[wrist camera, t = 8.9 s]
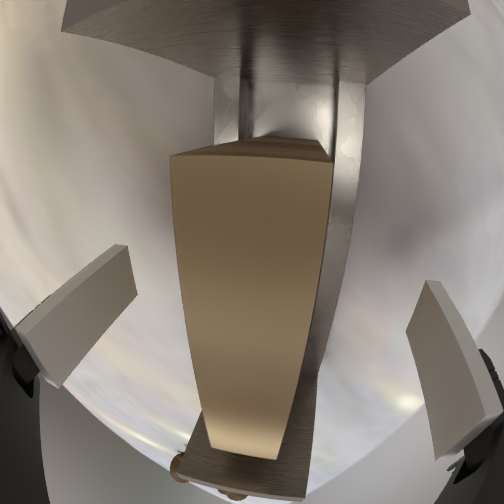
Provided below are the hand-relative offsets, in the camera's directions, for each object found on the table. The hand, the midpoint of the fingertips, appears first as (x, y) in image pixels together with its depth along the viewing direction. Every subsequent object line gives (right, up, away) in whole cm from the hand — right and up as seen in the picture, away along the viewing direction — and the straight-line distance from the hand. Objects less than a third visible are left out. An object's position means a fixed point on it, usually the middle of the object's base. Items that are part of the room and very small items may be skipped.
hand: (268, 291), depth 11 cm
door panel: (+1, +2, +5) cm, 6 cm away
